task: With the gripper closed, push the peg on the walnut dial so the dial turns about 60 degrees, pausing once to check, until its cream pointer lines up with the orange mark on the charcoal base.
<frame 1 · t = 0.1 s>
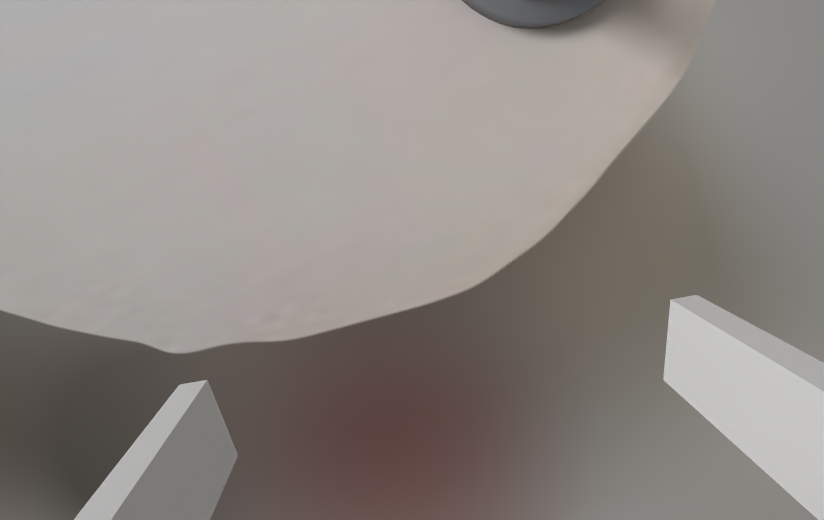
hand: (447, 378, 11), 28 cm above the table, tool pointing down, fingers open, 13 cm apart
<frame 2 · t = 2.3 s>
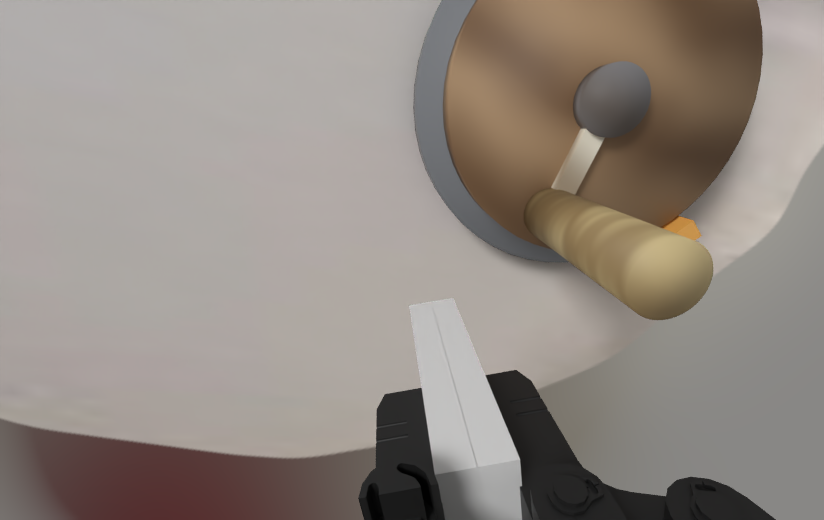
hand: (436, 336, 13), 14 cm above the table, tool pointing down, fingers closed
dial: (656, 97, 17), point 8 cm above the table, hinge at 0.0°
dial base: (569, 104, 24), on the table
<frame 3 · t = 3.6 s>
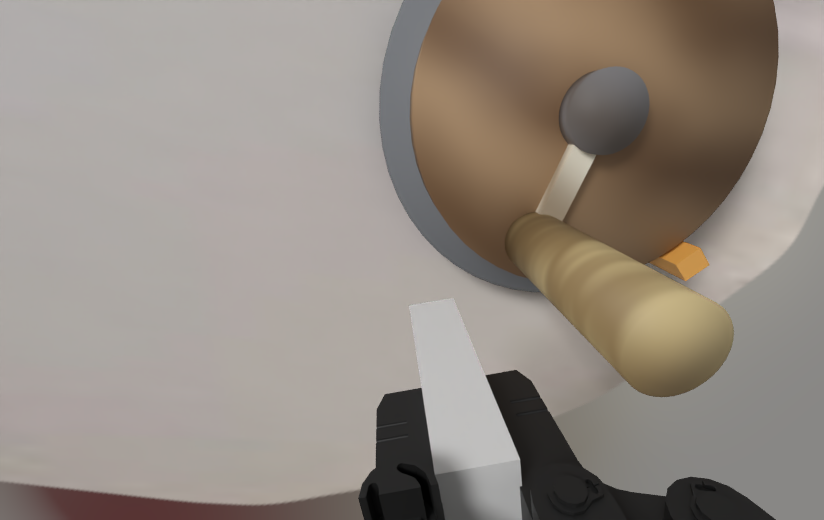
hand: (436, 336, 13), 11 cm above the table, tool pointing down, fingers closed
dial: (656, 109, 14), point 8 cm above the table, hinge at 0.0°
dial base: (557, 115, 21), on the table
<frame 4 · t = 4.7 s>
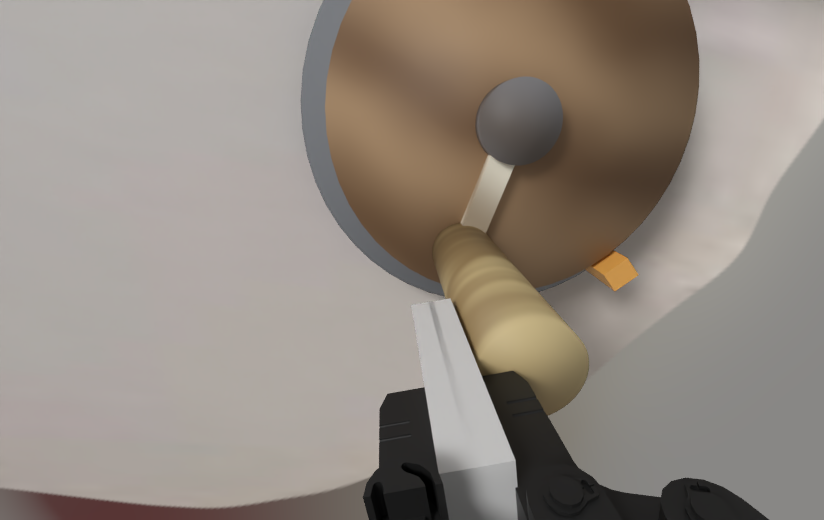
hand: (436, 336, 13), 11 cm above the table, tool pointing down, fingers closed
dial: (549, 122, 14), point 8 cm above the table, hinge at 1.4°, touching gripper
dial base: (490, 122, 21), on the table
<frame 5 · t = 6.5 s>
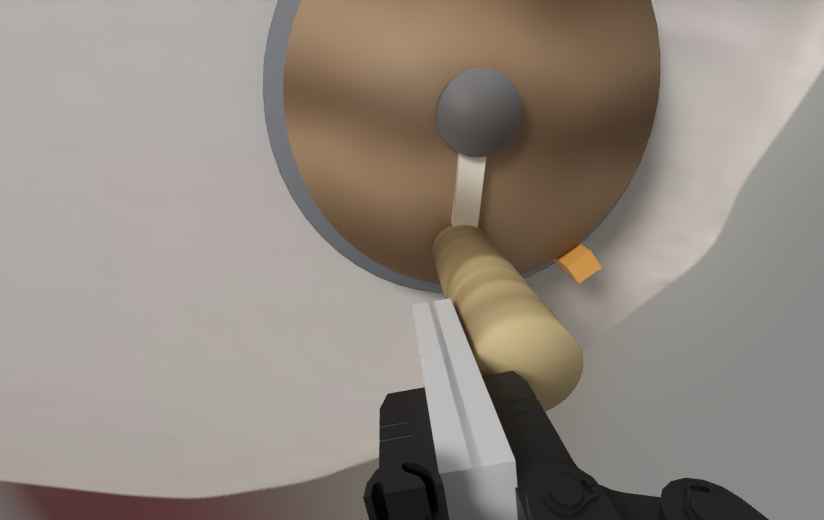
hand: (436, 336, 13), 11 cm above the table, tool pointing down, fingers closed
dial: (499, 113, 13), point 8 cm above the table, hinge at 17.7°, touching gripper
dial base: (458, 114, 21), on the table
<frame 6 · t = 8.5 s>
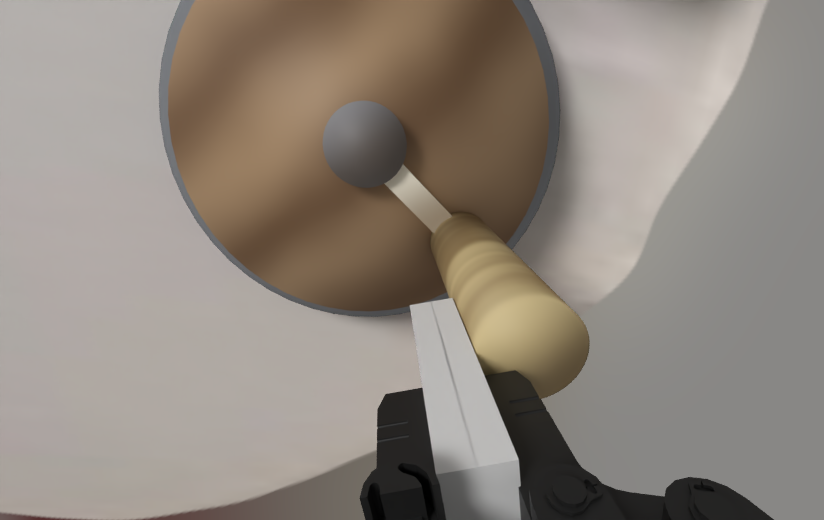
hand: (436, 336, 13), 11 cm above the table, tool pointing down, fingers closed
dial: (361, 150, 14), point 8 cm above the table, hinge at 65.4°
dial base: (369, 140, 21), on the table
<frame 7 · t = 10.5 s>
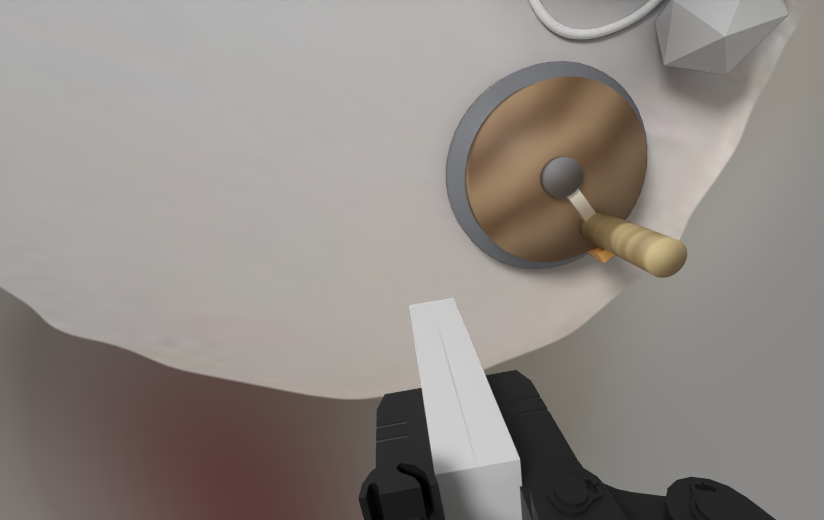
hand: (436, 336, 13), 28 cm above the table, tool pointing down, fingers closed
dial: (579, 182, 32), point 8 cm above the table, hinge at 65.3°
dial base: (540, 171, 39), on the table
die: (680, 29, 36), on the table
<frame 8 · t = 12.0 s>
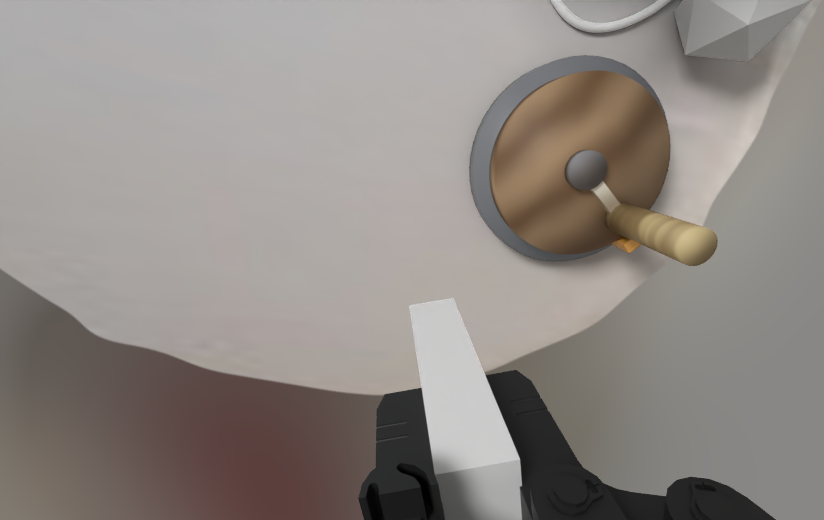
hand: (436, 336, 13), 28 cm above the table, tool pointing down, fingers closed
dial: (606, 174, 32), point 8 cm above the table, hinge at 65.3°
dial base: (563, 165, 40), on the table
die: (699, 18, 36), on the table
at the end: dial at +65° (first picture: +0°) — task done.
